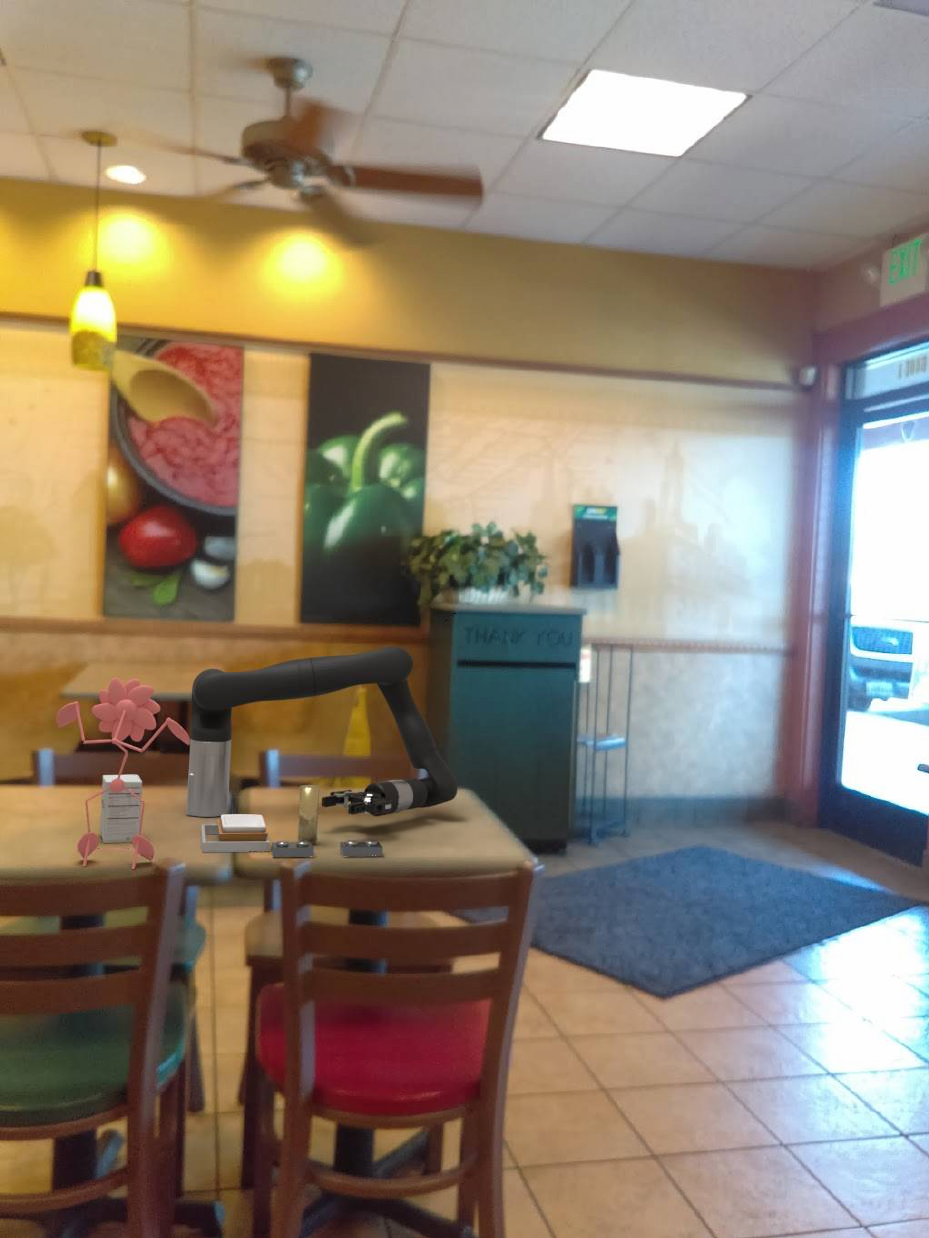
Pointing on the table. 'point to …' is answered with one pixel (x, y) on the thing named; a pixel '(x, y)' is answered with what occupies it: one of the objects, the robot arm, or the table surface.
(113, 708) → the pink flower figurine
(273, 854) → the block
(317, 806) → the link pin
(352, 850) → the chain end
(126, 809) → the supplement box
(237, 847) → the coaster tray
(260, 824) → the soap dish
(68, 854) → the table surface
